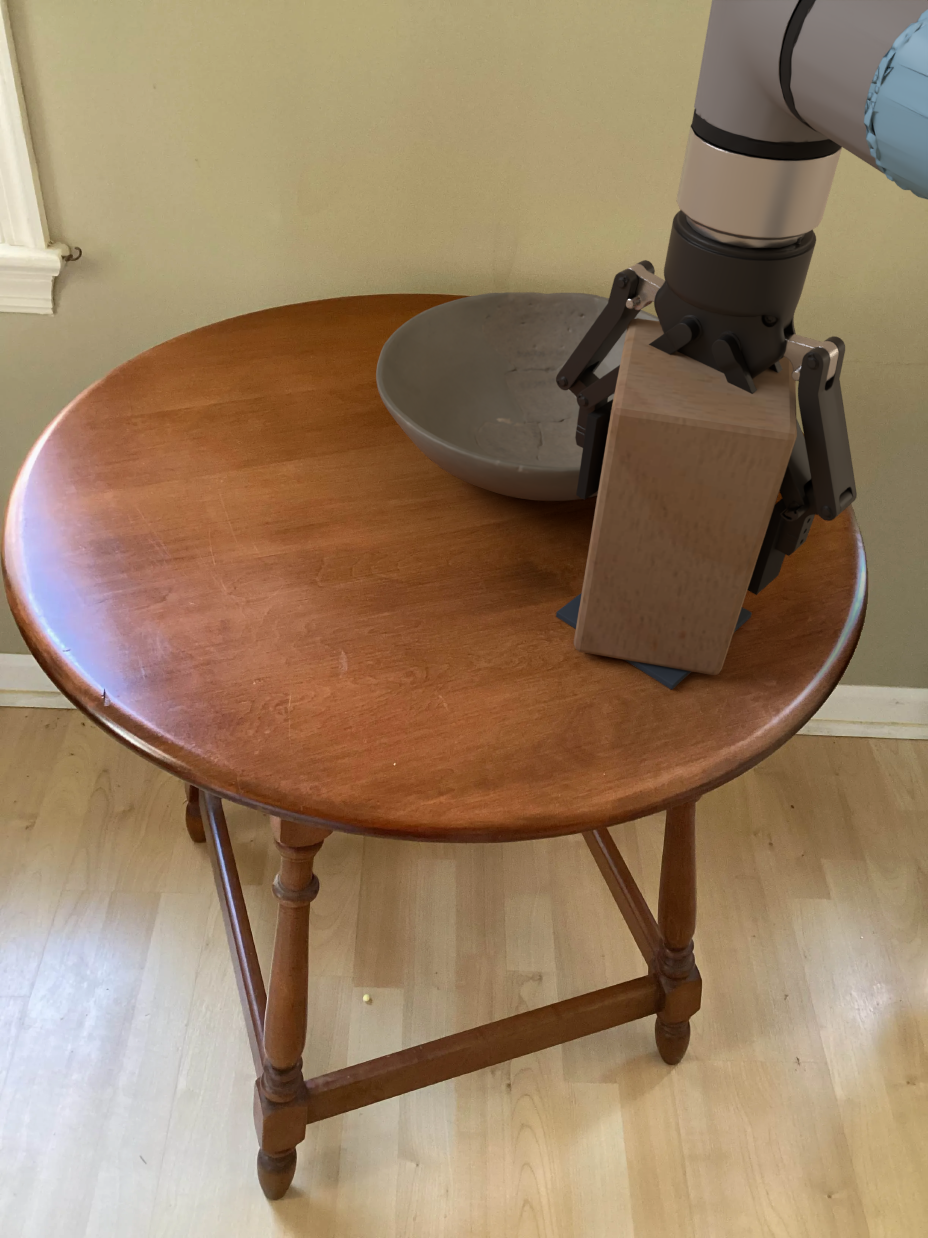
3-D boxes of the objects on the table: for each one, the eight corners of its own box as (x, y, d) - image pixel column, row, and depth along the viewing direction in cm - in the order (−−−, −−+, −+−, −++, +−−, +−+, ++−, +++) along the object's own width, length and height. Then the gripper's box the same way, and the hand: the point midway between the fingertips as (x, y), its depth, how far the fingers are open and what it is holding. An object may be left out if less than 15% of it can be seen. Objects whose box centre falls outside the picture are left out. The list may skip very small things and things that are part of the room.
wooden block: (720, 679, 70) (799, 433, 55) (571, 653, 71) (611, 405, 57) (725, 578, 77) (796, 336, 62) (589, 556, 78) (629, 313, 63)
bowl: (729, 406, 95) (749, 323, 90) (656, 595, 76) (676, 505, 71) (451, 342, 102) (454, 261, 96) (320, 501, 83) (314, 411, 77)
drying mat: (750, 617, 75) (752, 612, 75) (671, 690, 70) (673, 685, 69) (638, 553, 80) (639, 548, 79) (555, 616, 74) (556, 611, 74)
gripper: (1007, 276, 51) (871, 597, 66) (600, 136, 63) (562, 435, 77) (941, 327, 47) (812, 657, 61) (519, 167, 59) (495, 476, 73)
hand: (673, 534), depth 69 cm, fingers closed on wooden block, 13 cm apart
